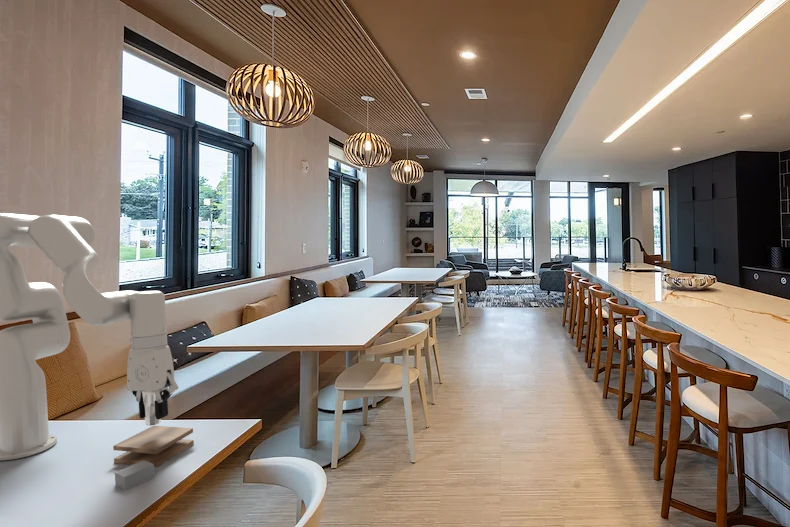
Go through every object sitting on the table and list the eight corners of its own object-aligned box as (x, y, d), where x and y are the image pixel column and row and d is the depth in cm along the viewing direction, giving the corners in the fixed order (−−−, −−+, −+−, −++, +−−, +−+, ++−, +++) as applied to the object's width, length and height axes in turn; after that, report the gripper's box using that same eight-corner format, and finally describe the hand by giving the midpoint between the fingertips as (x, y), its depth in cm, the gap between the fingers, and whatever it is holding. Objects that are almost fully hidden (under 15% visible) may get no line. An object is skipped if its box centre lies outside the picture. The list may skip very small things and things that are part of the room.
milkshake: (157, 427, 103) (156, 386, 102) (137, 425, 104) (137, 384, 103) (170, 420, 107) (170, 380, 107) (151, 418, 108) (151, 378, 108)
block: (115, 486, 91) (114, 472, 91) (144, 473, 96) (143, 460, 96) (125, 491, 89) (124, 477, 89) (154, 477, 94) (153, 464, 94)
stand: (114, 462, 101) (113, 445, 101) (154, 440, 113) (153, 425, 113) (157, 467, 98) (156, 449, 98) (193, 444, 110) (192, 428, 110)
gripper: (108, 345, 103) (112, 421, 104) (167, 345, 99) (171, 424, 100) (134, 338, 111) (138, 409, 111) (190, 339, 107) (194, 412, 107)
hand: (154, 416), depth 105 cm, fingers closed on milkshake, 4 cm apart
